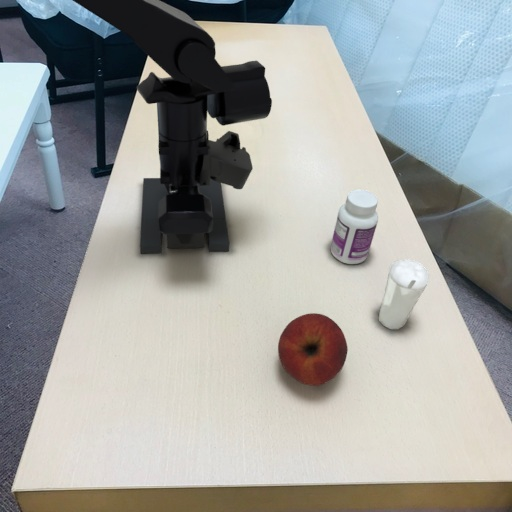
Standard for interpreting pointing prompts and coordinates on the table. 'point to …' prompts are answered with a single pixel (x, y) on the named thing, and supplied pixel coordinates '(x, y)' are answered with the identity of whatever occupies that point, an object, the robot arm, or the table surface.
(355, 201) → the pill bottle
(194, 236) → the black block
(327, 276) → the table surface
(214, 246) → the base pad
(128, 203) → the table surface
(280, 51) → the table surface
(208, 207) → the robot arm
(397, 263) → the milkshake
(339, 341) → the apple
